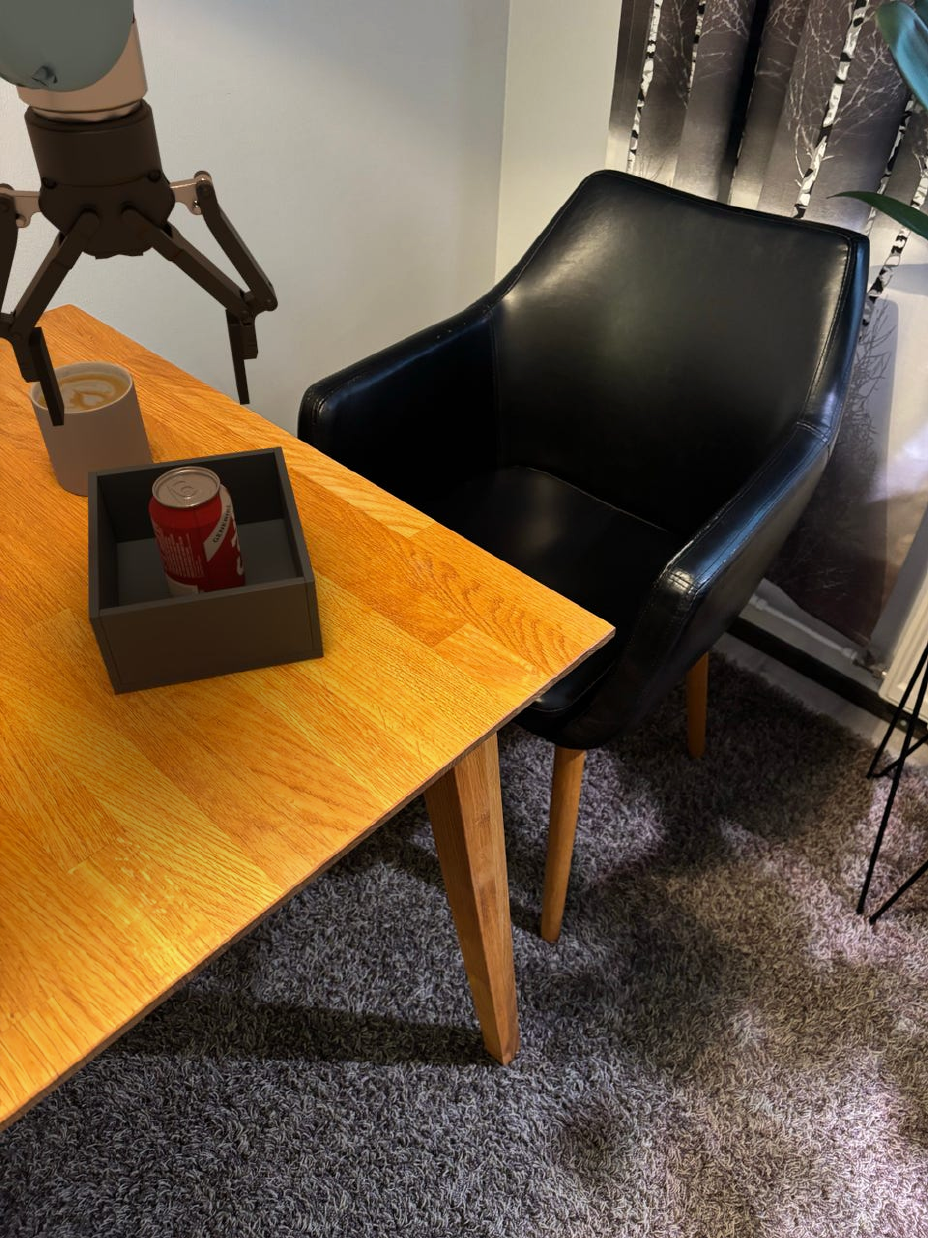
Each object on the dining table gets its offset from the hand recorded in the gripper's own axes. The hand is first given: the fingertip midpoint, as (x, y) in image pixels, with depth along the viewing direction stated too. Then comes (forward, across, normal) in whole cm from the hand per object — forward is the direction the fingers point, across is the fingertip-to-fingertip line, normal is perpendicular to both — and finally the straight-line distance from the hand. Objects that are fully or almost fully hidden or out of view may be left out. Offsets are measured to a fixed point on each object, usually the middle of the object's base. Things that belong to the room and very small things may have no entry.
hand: (153, 406), depth 74 cm
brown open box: (+21, -1, -1) cm, 21 cm away
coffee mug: (+21, +8, -26) cm, 35 cm away
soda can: (+20, -1, -1) cm, 20 cm away
